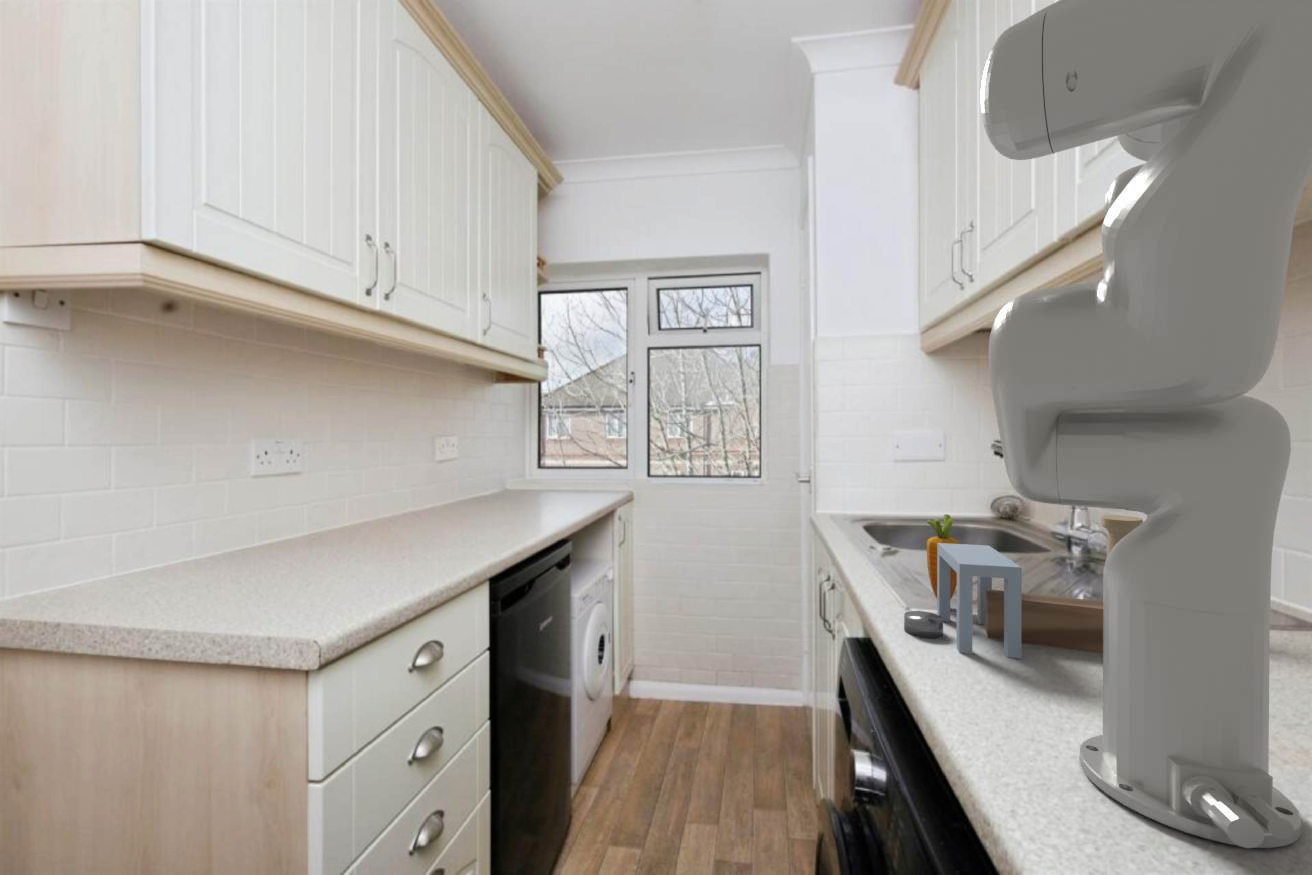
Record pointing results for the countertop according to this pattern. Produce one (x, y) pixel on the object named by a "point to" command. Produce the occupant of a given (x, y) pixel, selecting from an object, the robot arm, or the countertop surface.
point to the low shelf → (979, 591)
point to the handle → (1118, 527)
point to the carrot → (932, 553)
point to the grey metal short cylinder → (923, 624)
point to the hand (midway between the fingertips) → (1172, 441)
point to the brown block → (1050, 621)
